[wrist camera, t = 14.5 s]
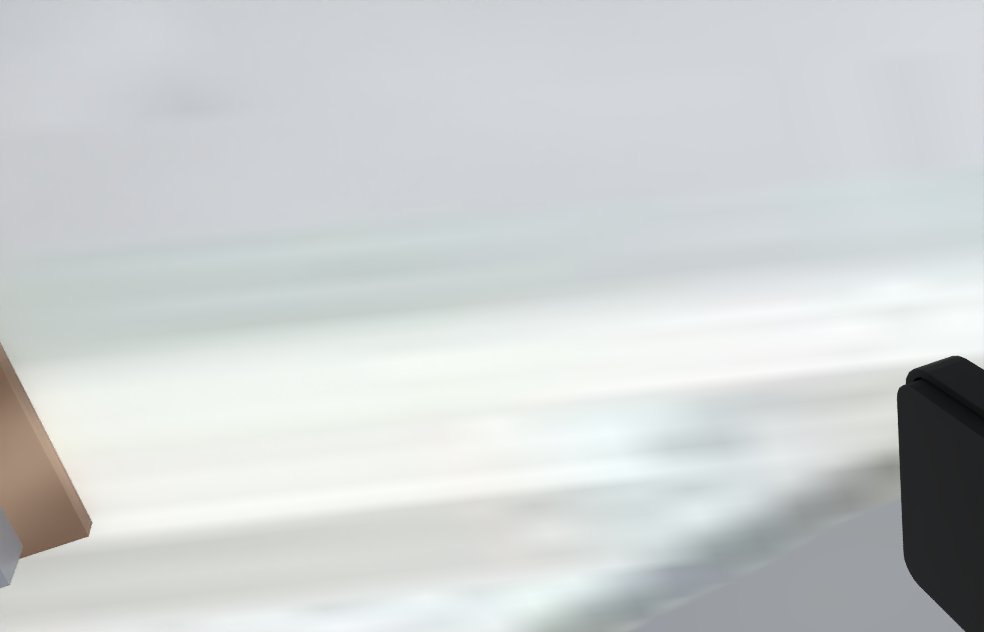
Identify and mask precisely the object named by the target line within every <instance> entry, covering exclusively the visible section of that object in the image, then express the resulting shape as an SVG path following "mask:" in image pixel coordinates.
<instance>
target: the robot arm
mask: <svg viewBox="0 0 984 632" xmlns="http://www.w3.org/2000/svg"><path fill="white" fill-rule="evenodd" d="M897 409H898V433H899V456H900V480H901V503H902V526H903V527H902V528H903V550H904V559H905V562H906V565H907V568H908V570H909V572H910V574H911V575H912V577H913V579H914V580H915V581H916V583H917V584H918V585H919V586H920V587H921V588H922V589H923V590H924V591H925V592H926V593H927V594H928V595H929V596H930V597H931V598H932V599H933V600H934V601H935V602H936V603H937V604H938V605H939V606H940V607H941V608H942V609H943V610H944V611H945V612H946V613H947V614H948V615H949V616H950V617H951V618H952V619H953V620H954V621H955V622H956V623H957V624H958V625H959V626H960V627H961V628H962V629H964V631H965V632H984V370H983V369H982V368H980V367H978V366H977V365H975V364H974V363H972V362H970V361H969V360H967V359H965V358H963V357H960V356H951V357H948V358H945V359H942V360H939V361H936V362H933V363H930V364H927V365H924V366H921V367H919V368H916V369H913V370H912V371H910V372H909V374H908V376H907V378H906V385H903V386H901V387H900V388H899V390H898V393H897Z"/></svg>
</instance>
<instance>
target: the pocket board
mask: <svg viewBox="0 0 984 632" xmlns="http://www.w3.org/2000/svg"><path fill="white" fill-rule="evenodd" d="M91 525H92V521H91V519H90V517H89V515H88V513H87V511H86V509H85V508H84V506H83V504H82V502H81V500H80V498H79V496H78V494H77V492H76V490H75V488H74V486H73V484H72V482H71V480H70V478H69V476H68V474H67V472H66V470H65V468H64V466H63V464H62V463H61V461H60V459H59V457H58V455H57V453H56V451H55V449H54V447H53V445H52V443H51V441H50V439H49V437H48V435H47V433H46V431H45V429H44V427H43V425H42V423H41V421H40V419H39V418H38V416H37V414H36V412H35V410H34V408H33V406H32V404H31V402H30V400H29V398H28V396H27V394H26V392H25V390H24V388H23V386H22V384H21V382H20V380H19V378H18V376H17V375H16V373H15V371H14V369H13V367H12V365H11V363H10V361H9V359H8V357H7V355H6V353H5V351H4V349H3V347H2V345H1V343H0V588H2V587H5V586H8V585H10V583H11V580H12V577H13V574H14V572H15V569H16V566H17V563H18V560H19V559H20V558H23V557H27V556H30V555H33V554H36V553H39V552H42V551H45V550H48V549H51V548H54V547H57V546H60V545H63V544H67V543H70V542H73V541H76V540H79V539H82V538H85V537H88V536H89V533H90V529H91Z"/></svg>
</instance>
